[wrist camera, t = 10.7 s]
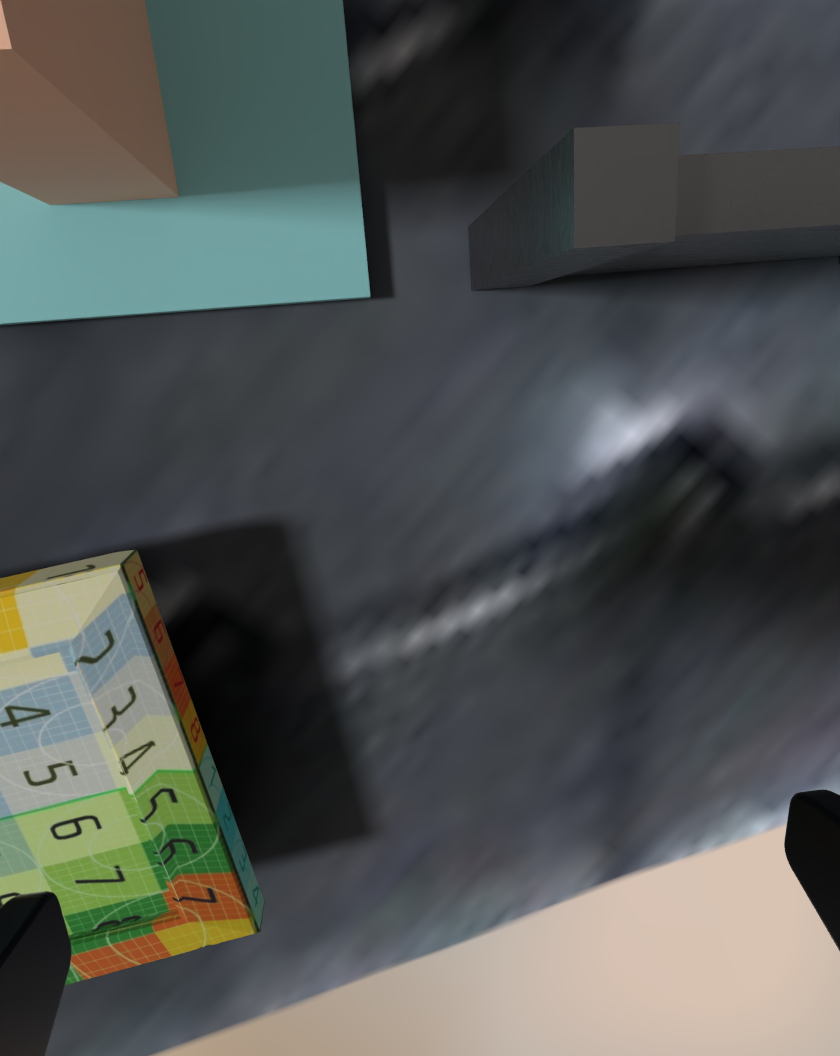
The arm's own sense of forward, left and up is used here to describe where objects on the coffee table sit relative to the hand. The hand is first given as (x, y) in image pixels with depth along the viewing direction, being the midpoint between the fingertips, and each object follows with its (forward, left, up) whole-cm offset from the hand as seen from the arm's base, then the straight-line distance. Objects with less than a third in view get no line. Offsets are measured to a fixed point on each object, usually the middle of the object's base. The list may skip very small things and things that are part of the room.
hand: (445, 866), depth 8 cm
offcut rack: (-9, -8, -12) cm, 17 cm away
